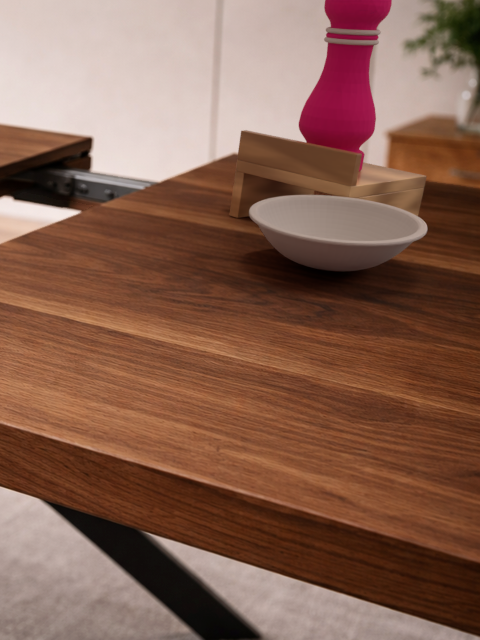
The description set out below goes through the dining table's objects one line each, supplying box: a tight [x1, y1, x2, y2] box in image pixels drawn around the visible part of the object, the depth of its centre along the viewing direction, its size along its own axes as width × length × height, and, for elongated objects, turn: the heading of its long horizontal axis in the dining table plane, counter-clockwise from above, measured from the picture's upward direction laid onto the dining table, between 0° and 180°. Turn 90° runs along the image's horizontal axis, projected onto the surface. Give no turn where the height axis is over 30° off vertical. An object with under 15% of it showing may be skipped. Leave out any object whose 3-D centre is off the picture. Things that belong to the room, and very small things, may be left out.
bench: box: [229, 129, 428, 219], centre depth 98 cm, size 12×14×9 cm
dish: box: [248, 194, 428, 272], centre depth 83 cm, size 18×14×5 cm
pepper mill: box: [298, 0, 393, 171], centre depth 94 cm, size 7×7×20 cm
